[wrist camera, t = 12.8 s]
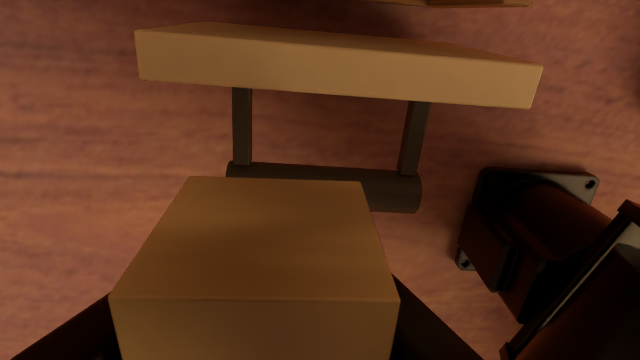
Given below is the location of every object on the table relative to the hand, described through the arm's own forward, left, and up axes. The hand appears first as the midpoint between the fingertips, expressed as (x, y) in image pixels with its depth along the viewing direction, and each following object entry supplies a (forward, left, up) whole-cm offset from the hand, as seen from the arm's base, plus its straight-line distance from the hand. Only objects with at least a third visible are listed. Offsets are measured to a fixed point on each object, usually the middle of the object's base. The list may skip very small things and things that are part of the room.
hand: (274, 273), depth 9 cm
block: (0, 0, -1) cm, 1 cm away
